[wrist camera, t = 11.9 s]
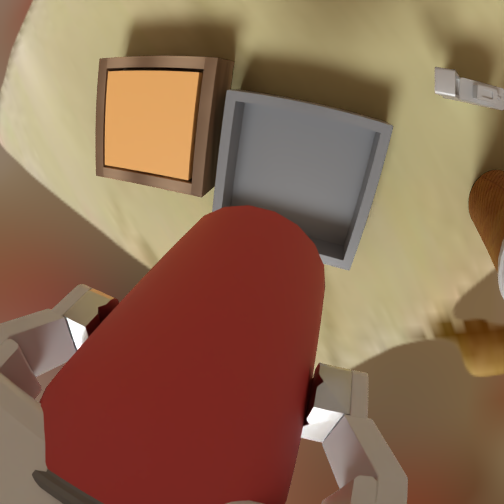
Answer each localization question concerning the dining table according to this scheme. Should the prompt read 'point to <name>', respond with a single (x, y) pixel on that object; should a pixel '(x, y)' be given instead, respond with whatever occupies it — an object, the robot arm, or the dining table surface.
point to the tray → (302, 166)
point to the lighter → (467, 89)
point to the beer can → (194, 373)
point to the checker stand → (208, 123)
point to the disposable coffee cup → (490, 217)
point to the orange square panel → (152, 121)
